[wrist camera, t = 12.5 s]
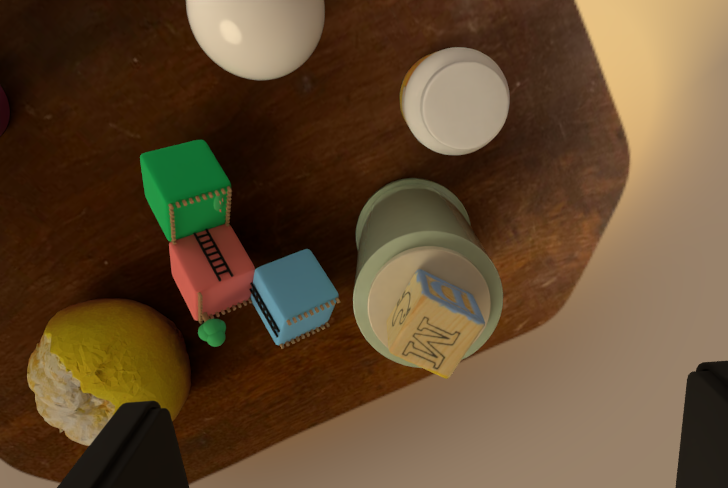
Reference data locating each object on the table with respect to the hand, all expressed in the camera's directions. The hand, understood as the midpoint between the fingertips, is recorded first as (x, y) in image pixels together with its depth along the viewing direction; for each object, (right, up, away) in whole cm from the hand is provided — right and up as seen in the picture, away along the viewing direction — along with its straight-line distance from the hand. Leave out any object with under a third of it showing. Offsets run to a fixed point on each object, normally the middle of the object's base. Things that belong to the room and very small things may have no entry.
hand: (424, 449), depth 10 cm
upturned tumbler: (+2, +4, +26) cm, 27 cm away
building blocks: (-9, +5, +27) cm, 29 cm away
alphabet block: (+2, +1, +15) cm, 15 cm away
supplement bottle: (+4, +13, +24) cm, 27 cm away
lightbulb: (-6, +17, +23) cm, 29 cm away
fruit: (-19, -5, +30) cm, 36 cm away
